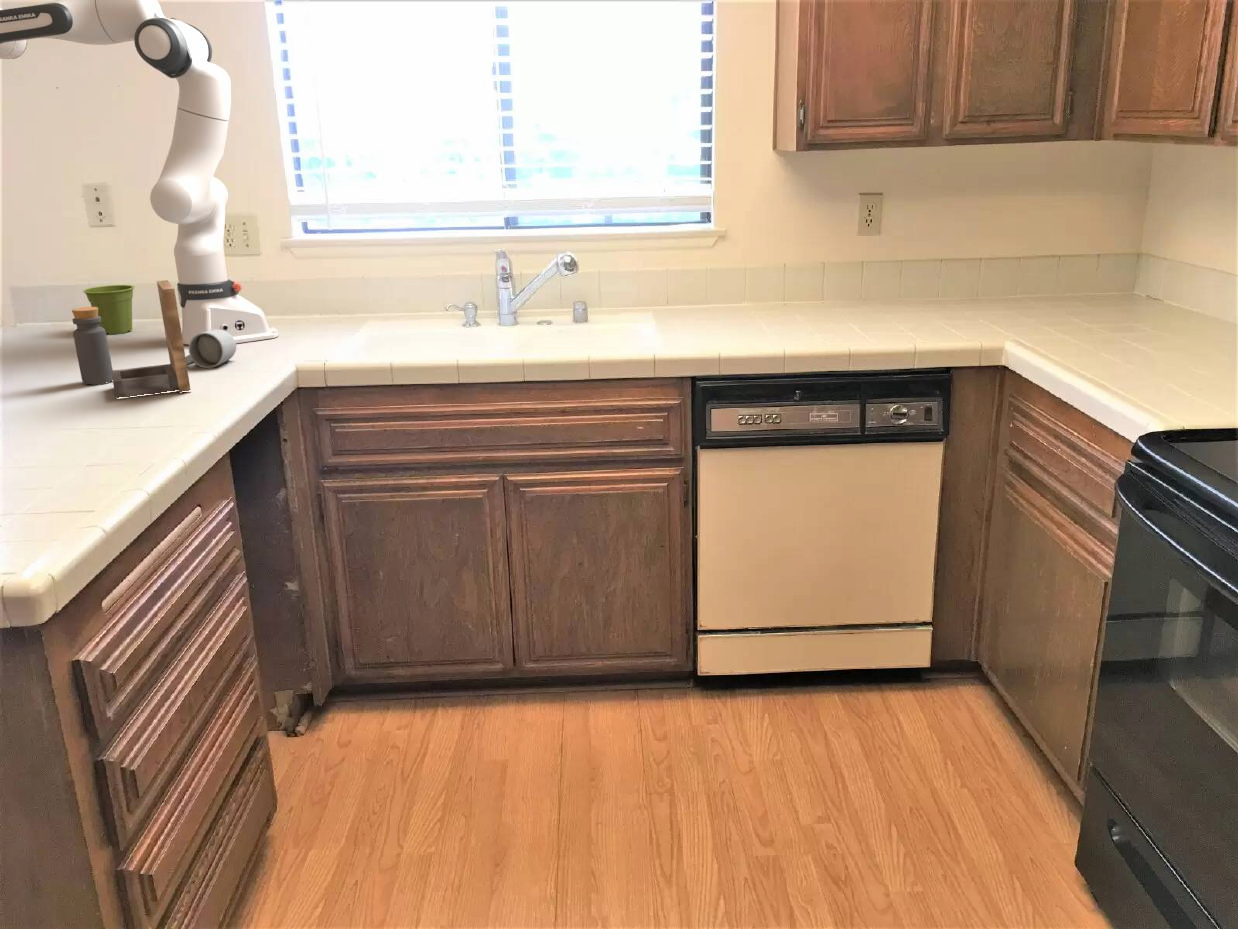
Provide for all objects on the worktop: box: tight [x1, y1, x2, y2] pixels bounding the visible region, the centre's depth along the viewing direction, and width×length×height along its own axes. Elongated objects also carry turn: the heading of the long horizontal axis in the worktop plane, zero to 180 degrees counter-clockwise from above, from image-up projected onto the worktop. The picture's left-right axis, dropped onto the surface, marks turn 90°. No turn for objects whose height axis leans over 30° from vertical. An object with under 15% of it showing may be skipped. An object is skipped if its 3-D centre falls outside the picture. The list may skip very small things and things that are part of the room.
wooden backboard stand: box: [111, 279, 192, 399], centre depth 195 cm, size 13×14×20 cm
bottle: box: [71, 306, 114, 385], centre depth 202 cm, size 6×6×15 cm
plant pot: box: [82, 284, 135, 335], centre depth 256 cm, size 12×12×11 cm
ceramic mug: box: [185, 329, 237, 369], centre depth 218 cm, size 11×8×8 cm
